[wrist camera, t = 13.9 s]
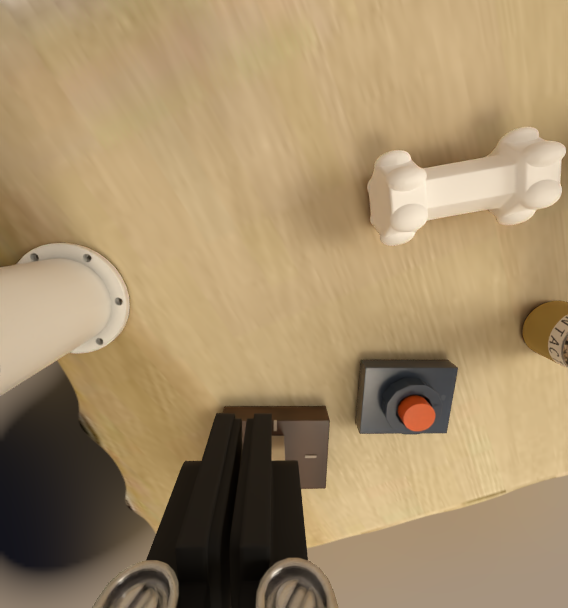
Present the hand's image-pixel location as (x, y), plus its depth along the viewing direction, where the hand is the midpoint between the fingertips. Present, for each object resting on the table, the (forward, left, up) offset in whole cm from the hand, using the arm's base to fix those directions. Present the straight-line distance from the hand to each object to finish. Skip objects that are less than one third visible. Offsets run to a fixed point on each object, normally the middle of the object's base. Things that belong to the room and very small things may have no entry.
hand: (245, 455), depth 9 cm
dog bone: (+18, +10, -27) cm, 34 cm away
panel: (+1, -21, -27) cm, 34 cm away
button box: (+17, -14, -27) cm, 35 cm away
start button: (+17, -14, -23) cm, 32 cm away
